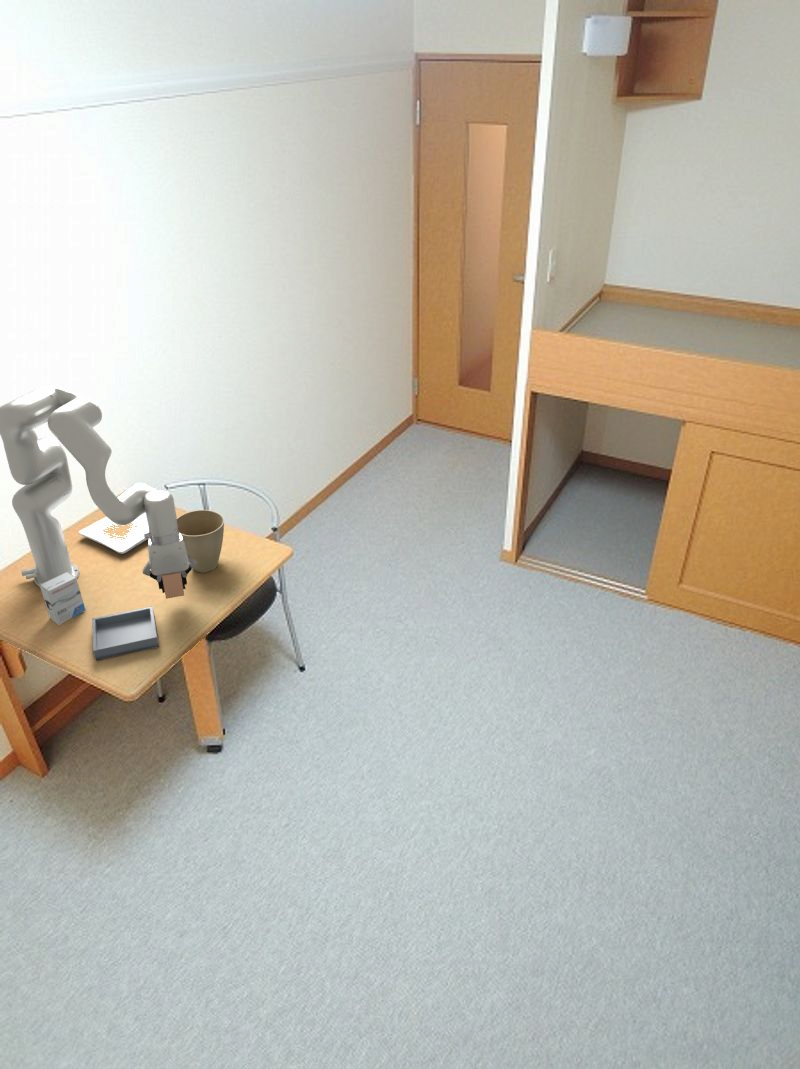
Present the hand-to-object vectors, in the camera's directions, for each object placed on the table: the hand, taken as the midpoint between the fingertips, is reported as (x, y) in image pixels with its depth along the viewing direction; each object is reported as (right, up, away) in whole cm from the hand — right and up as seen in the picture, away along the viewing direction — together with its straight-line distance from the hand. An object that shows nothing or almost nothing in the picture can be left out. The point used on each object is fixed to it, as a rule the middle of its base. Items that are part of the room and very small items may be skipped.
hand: (173, 587), depth 212 cm
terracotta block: (0, -1, +1) cm, 2 cm away
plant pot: (+4, +5, +21) cm, 22 cm away
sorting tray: (-10, -13, -8) cm, 18 cm away
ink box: (-30, -8, 0) cm, 31 cm away
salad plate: (-26, +15, +36) cm, 47 cm away
